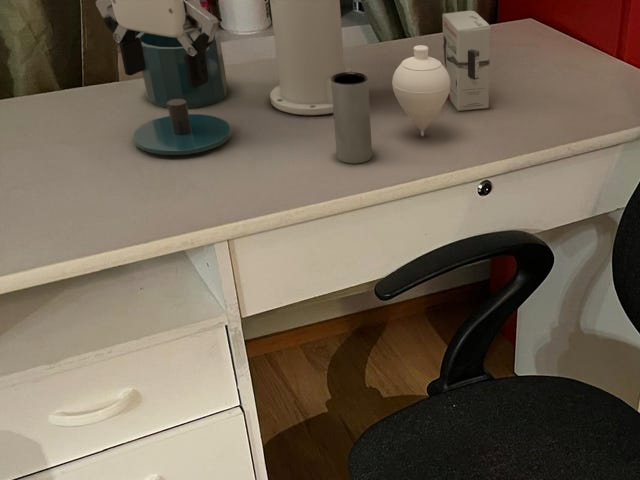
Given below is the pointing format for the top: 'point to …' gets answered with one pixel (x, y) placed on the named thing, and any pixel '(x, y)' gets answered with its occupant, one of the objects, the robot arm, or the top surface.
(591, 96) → the top surface
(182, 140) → the lid
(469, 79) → the ink box
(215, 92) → the pot
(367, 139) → the gray cylinder
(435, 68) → the spinning top
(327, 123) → the top surface
